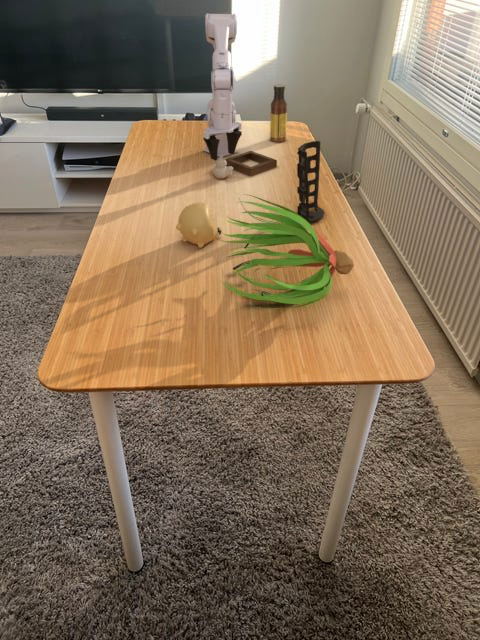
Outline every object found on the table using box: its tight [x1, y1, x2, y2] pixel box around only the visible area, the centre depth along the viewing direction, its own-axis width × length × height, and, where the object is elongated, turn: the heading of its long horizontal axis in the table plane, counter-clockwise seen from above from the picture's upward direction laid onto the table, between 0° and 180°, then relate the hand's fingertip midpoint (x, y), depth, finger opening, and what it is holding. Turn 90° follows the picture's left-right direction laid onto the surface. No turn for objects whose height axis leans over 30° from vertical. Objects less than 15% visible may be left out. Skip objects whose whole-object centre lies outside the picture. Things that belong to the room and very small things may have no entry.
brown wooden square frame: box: [224, 150, 278, 177], centre depth 176 cm, size 13×13×2 cm
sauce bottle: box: [269, 83, 288, 143], centre depth 194 cm, size 7×6×20 cm
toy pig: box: [175, 202, 222, 249], centre depth 131 cm, size 10×12×11 cm
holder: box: [296, 140, 325, 225], centre depth 141 cm, size 11×8×20 cm
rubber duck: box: [212, 154, 234, 180], centre depth 166 cm, size 5×7×8 cm
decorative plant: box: [216, 193, 355, 310], centre depth 108 cm, size 26×25×30 cm
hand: (222, 156), depth 164 cm, fingers open, 7 cm apart
